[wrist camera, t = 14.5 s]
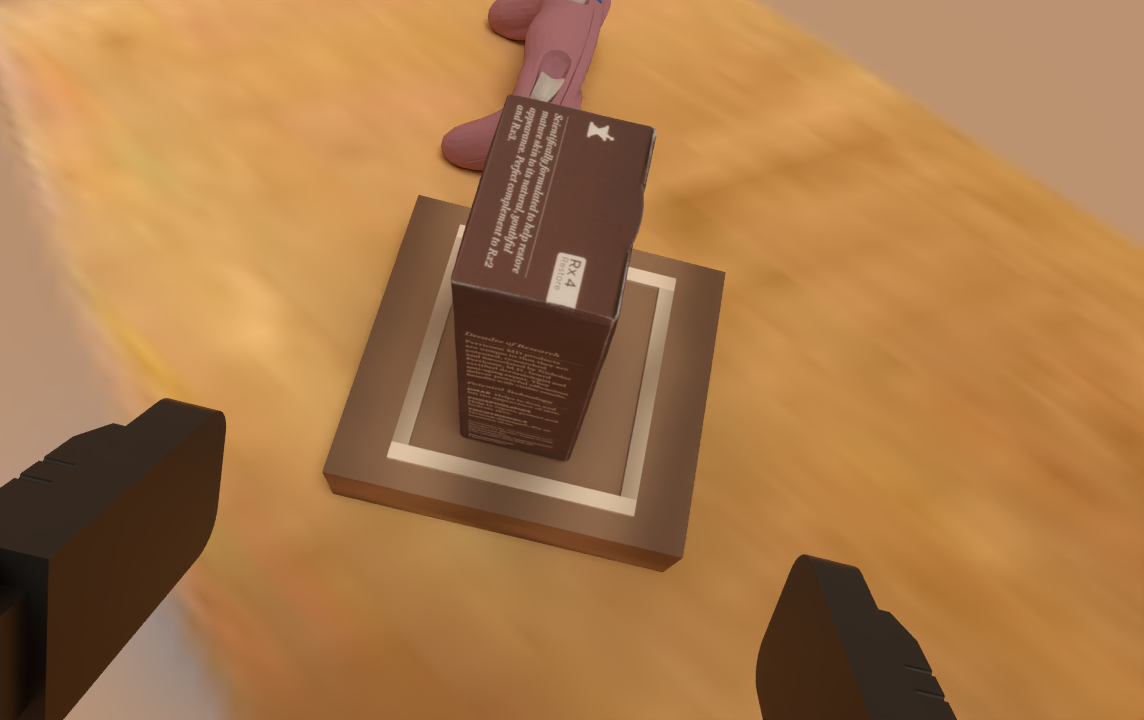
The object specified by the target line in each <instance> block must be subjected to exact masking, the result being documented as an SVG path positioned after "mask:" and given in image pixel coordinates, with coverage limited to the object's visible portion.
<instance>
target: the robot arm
mask: <svg viewBox="0 0 1144 720" xmlns="http://www.w3.org/2000/svg"><path fill="white" fill-rule="evenodd" d="M225 434H226V420H225V416H224V414H223V412H221V411H218V410H214V409H210V408H206V407H202V406H197V405H193V404H189V403H185V402H181V401H177V400H173V399H169V398H164V399H162V400H160V401H158V402H157V403H156V404H154V405H153V406H152V407H150V408H149V409H148V410H146V411H145V412H144V413H143V414H141V415H140V416H139V417H137V418H136V419H135V420H133V421H132V422H131V423H129V424H128V425H127V426H122V425H118V424H114V423H112V424H109V425H106V426H103V427H100V428H98V429H95V430H91V431H89V432H85V433H83V434H79V435H77V436H74V437H72V438H70V439H69V440H68V441H66V442H65V443H63V444H62V445H60V446H59V447H58V448H57V449H55V450H53V451H52V452H50V453H49V454H48V455H46V456H45V457H44V460H43V462H42V461H38V462H36V463H35V464H33V465H32V466H31V467H29V468H28V469H26V470H25V471H24V472H22V473H21V474H20V477H19V479H16V478H14V479H12V480H11V481H9V482H8V483H7V484H5V485H4V486H2V487H1V488H0V720H63V719H64V718H65V717H66V716H67V714H68V713H69V712H70V711H71V710H72V708H73V707H74V706H75V705H76V703H78V701H79V700H80V699H81V698H82V696H83V695H84V694H85V693H86V691H88V689H89V688H90V687H91V686H92V684H93V683H94V682H95V681H96V680H97V678H98V677H99V676H100V675H101V674H102V672H103V671H104V670H105V669H106V668H107V666H108V665H109V664H110V663H111V662H112V660H113V659H114V658H115V657H116V656H117V654H118V653H119V652H120V651H121V650H122V648H123V647H124V646H125V645H126V643H127V642H128V641H129V640H130V639H131V638H132V636H133V635H134V634H135V633H136V632H137V630H138V629H139V628H140V627H141V626H142V624H143V623H144V622H145V621H146V620H147V618H148V617H149V616H150V615H151V614H152V612H153V611H154V610H155V609H156V608H157V606H158V605H159V604H160V603H161V602H162V600H163V599H164V598H165V597H166V596H167V594H168V593H169V592H170V591H171V590H172V588H173V587H174V586H175V585H176V584H177V582H178V581H179V580H180V579H181V578H182V576H183V575H184V574H185V573H186V572H187V570H188V569H189V568H190V567H191V566H192V564H193V563H194V562H195V561H196V560H197V558H198V557H199V556H200V554H201V553H202V551H203V550H204V548H205V546H206V544H207V542H208V540H209V538H210V535H211V533H212V530H213V527H214V523H215V520H216V515H217V509H218V500H219V490H220V481H221V471H222V462H223V453H224V443H225ZM756 689H757V694H758V699H759V704H760V708H761V713H762V717H763V720H957V719H956V717H955V715H954V713H953V711H952V709H951V707H950V705H949V703H948V702H945V701H944V697H945V695H944V693H943V691H942V689H941V687H940V685H939V683H938V681H937V679H936V677H934V676H932V669H931V667H930V665H929V664H928V662H927V660H926V658H925V656H924V654H923V652H922V650H921V648H920V646H919V644H918V642H917V640H916V639H915V638H914V637H913V636H912V635H911V634H910V633H909V632H908V631H907V630H906V629H905V628H904V627H903V626H902V625H901V624H900V623H899V622H898V620H897V619H896V618H895V617H894V616H893V615H892V614H891V613H890V612H887V611H883V610H879V609H878V608H877V606H876V603H875V601H874V599H873V597H872V595H871V593H870V590H869V588H868V586H867V584H866V582H865V580H864V578H863V575H862V573H861V572H860V570H859V569H858V568H857V567H855V566H851V565H847V564H842V563H838V562H834V561H830V560H826V559H822V558H818V557H814V556H809V555H805V554H804V555H801V556H799V557H798V558H797V560H796V561H795V563H794V564H793V566H792V568H791V571H790V573H789V576H788V578H787V581H786V583H785V586H784V588H783V591H782V593H781V596H780V598H779V601H778V603H777V605H776V608H775V610H774V613H773V615H772V618H771V620H770V623H769V625H768V628H767V630H766V633H765V635H764V638H763V640H762V643H761V646H760V650H759V654H758V659H757V666H756Z"/></svg>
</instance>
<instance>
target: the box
mask: <svg viewBox="0 0 1144 720" xmlns="http://www.w3.org/2000/svg"><path fill="white" fill-rule="evenodd" d="M656 135H657V133H656V129H654V128H652V127H650V126H646V125H641V124H636V123H632V122H628V121H623V120H619V119H614V118H610V117H606V116H601V115H597V114H594V113H590V112H586V111H581V110H578V109H574V108H569V107H565V106H561V105H557V104H553V103H549V102H545V101H540V100H536V99H531V98H527V97H522V96H516V95H509V96H507V99H506V102H505V105H504V108H503V110H502V113H501V116H500V119H499V122H498V125H497V128H496V131H495V134H494V137H493V139H492V142H491V145H490V148H489V151H488V154H487V156H486V159H485V164H484V168H483V171H482V175H481V178H480V182H479V185H478V188H477V192H476V195H475V198H474V202H473V205H472V208H471V211H470V214H469V217H468V220H467V223H466V226H465V229H464V233H463V236H462V240H461V244H460V247H459V251H458V254H457V258H456V262H455V266H454V268H453V272H452V275H451V287H452V300H453V310H454V329H455V348H456V360H457V380H458V399H459V419H460V434H461V435H462V436H464V437H468V438H472V439H476V440H480V441H484V442H488V443H492V444H497V445H501V446H505V447H509V448H513V449H517V450H522V451H526V452H530V453H534V454H539V455H543V456H547V457H551V458H555V459H559V460H563V461H567V460H569V459H570V457H571V454H572V451H573V448H574V446H575V443H576V440H577V438H578V435H579V432H580V429H581V426H582V424H583V420H584V418H585V415H586V412H587V410H588V407H589V404H590V401H591V398H592V395H593V392H594V389H595V386H596V383H597V380H598V377H599V374H600V371H601V369H602V366H603V364H604V361H605V359H606V356H607V354H608V350H609V347H610V344H611V341H612V338H613V335H614V333H615V330H616V326H617V323H618V319H619V316H620V311H621V305H622V299H623V294H624V289H625V284H626V279H627V273H628V268H629V263H630V258H631V253H632V247H633V243H634V241H635V239H636V236H637V234H638V231H639V228H640V225H641V221H642V216H643V208H644V190H645V187H646V182H647V176H648V172H649V168H650V163H651V158H652V153H653V149H654V144H655V139H656Z"/></svg>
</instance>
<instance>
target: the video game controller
mask: <svg viewBox="0 0 1144 720" xmlns="http://www.w3.org/2000/svg"><path fill="white" fill-rule="evenodd" d="M610 4H611V0H496V1H495V2H494V3H493V5H492V6H491V8H490V9H489V14H488V21H489V23H490V25H491V27H492V28H493V29H494V30H495V32H496V33H498V34H500V35H502V36H504V37H506V38H509V39H514V40H525V49H524V63H523V66H522V68H521V71H520V74H519V76H518V79H517V82H516V85H515V88H514V91H513V95H516V96H522V97H527V98H531V99H536V100H540V101H545V102H549V103H553V104H557V105H561V106H565V107H569V108H574V109H578V110H580V108H581V102H582V94H581V91H580V88H581V85H582V83H583V80H584V78H585V75H586V73H587V70H588V68H589V65H590V63H591V59H592V56H593V53H594V50H595V47H596V43H597V40H598V36H599V32H600V28H601V26H602V24H603V22H604V20H605V18H606V16H607V14H608V11H609V8H610ZM502 110H503V109H501V110H500V111H498V112H496V113H494V114H491V115H489V116H487V117H484V118H482V119H478V120H475V121H472V122H468V123H465V124H462V125H460V126H457V127H455V128H453V129H452V130H451V131H450V132H448V133H447V134H446V135H445V136H444V137H443V140H442V144H441V148H442V152H443V154H444V156H445V157H446V158H447V159H448V160H449V161H450V162H451V163H453V164H455V165H457V166H459V167H463V168H467V169H471V170H483V168H484V164H485V159H486V156H487V154H488V151H489V148H490V145H491V142H492V139H493V137H494V134H495V131H496V128H497V125H498V122H499V119H500V116H501V113H502Z"/></svg>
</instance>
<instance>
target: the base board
mask: <svg viewBox="0 0 1144 720" xmlns="http://www.w3.org/2000/svg"><path fill="white" fill-rule="evenodd" d="M470 211H471V208H468V207H464V206H460V205H456V204H452V203H449V202H445V201H441V200H437V199H433V198H429V197H425V196H421V195H419V196H418V198H417V201H416V204H415V207H414V210H413V213H412V216H411V219H410V221H409V224H408V227H407V230H406V233H405V236H404V239H403V242H402V244H401V247H400V250H399V253H398V256H397V259H396V262H395V265H394V267H393V270H392V273H391V276H390V279H389V282H388V285H387V288H386V290H385V293H384V296H383V299H382V302H381V305H380V308H379V311H378V313H377V316H376V319H375V322H374V325H373V328H372V331H371V334H370V336H369V339H368V342H367V345H366V348H365V351H364V354H363V357H362V359H361V362H360V365H359V368H358V371H357V374H356V377H355V380H354V382H353V385H352V388H351V391H350V394H349V397H348V400H347V403H346V405H345V408H344V411H343V414H342V417H341V420H340V423H339V426H338V428H337V431H336V434H335V437H334V440H333V443H332V446H331V449H330V451H329V454H328V457H327V460H326V463H325V466H324V469H323V474H324V476H325V478H326V480H327V482H328V484H329V486H330V488H331V490H332V492H333V494H338V495H342V496H346V497H350V498H354V499H359V500H363V501H367V502H371V503H375V504H380V505H384V506H388V507H392V508H396V509H401V510H405V511H409V512H413V513H417V514H422V515H426V516H430V517H434V518H438V519H443V520H447V521H451V522H455V523H459V524H464V525H468V526H472V527H476V528H480V529H485V530H489V531H493V532H497V533H501V534H506V535H510V536H514V537H518V538H522V539H527V540H531V541H535V542H539V543H543V544H548V545H552V546H556V547H560V548H565V549H569V550H573V551H577V552H581V553H586V554H590V555H594V556H598V557H602V558H607V559H611V560H615V561H619V562H623V563H628V564H632V565H636V566H640V567H644V568H649V569H653V570H657V571H661V572H664V571H665V570H667V569H668V568H669V567H671V566H672V565H674V564H675V563H676V562H678V561H679V560H681V559H682V558H683V553H684V546H685V539H686V533H687V526H688V519H689V513H690V506H691V499H692V493H693V486H694V479H695V473H696V466H697V459H698V453H699V446H700V439H701V433H702V426H703V419H704V413H705V406H706V399H707V392H708V386H709V379H710V372H711V366H712V359H713V352H714V346H715V339H716V332H717V326H718V319H719V312H720V306H721V299H722V292H723V286H724V279H725V272H722V271H718V270H714V269H710V268H706V267H702V266H698V265H694V264H690V263H686V262H683V261H679V260H675V259H671V258H667V257H663V256H659V255H655V254H651V253H647V252H643V251H639V250H635V249H632V253H631V258H630V263H629V268H628V273H627V279H626V284H625V289H624V294H623V299H622V305H621V311H620V316H619V319H618V323H617V326H616V330H615V333H614V335H613V338H612V341H611V344H610V347H609V350H608V354H607V356H606V359H605V361H604V364H603V366H602V369H601V371H600V374H599V377H598V380H597V383H596V386H595V389H594V392H593V395H592V398H591V401H590V404H589V407H588V410H587V412H586V415H585V418H584V420H583V424H582V426H581V429H580V432H579V435H578V438H577V440H576V443H575V446H574V448H573V451H572V454H571V457H570V459H569V460H567V461H563V460H559V459H555V458H551V457H547V456H543V455H539V454H534V453H530V452H526V451H522V450H517V449H513V448H509V447H505V446H501V445H497V444H492V443H488V442H484V441H480V440H476V439H472V438H468V437H464V436H462V435H461V434H460V419H459V399H458V380H457V360H456V348H455V329H454V310H453V300H452V287H451V275H452V272H453V268H454V266H455V262H456V258H457V254H458V251H459V247H460V244H461V240H462V236H463V233H464V229H465V226H466V223H467V220H468V217H469V214H470Z"/></svg>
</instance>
